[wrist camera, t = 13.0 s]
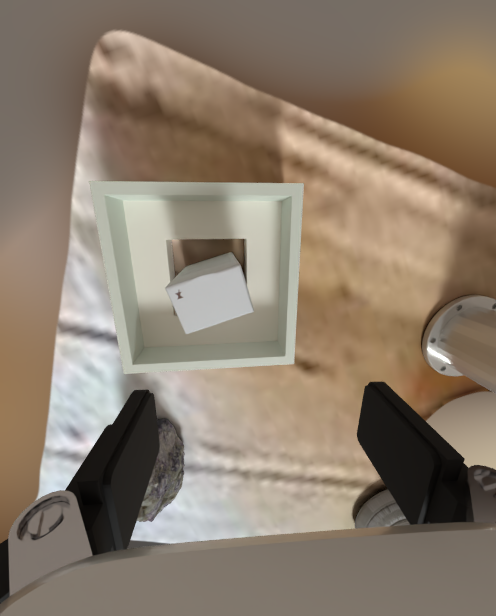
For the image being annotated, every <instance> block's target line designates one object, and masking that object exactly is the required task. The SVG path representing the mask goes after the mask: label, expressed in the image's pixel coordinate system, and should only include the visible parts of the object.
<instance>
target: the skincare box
mask: <svg viewBox="0 0 496 616" xmlns="http://www.w3.org/2000/svg"><path fill="white" fill-rule="evenodd" d="M165 289H166V292H167V294H168V296H169V298H170V300H171V303H172V305H173V307H174V309H175V311H176V314H177V316H178V318H179V320H180V323H181V325H182V327H183V329H184V332H185V334H189V333H192V332H195V331H198V330H201V329H204V328H207V327H210V326H213V325H216V324H219V323H222V322H225V321H227V320H230V319H233V318H236V317H239V316H242V315H245V314H248V313H252V312H254V308H253V305H252V301H251V298H250V294H249V291H248V287H247V284H246V280H245V277H244V274H243V271H242V268H241V265H240V263H239V262H238V261H237V259H236V258H235V256H234V254H233V253H232V252H229V253H226V254H223V255H220V256H216V257H213V258H210V259H207V260H204V261H201V262H198V263H195V264H192V265H188V266H186V267H185V268H184V269H183V270H182V271H181V272H180V273H179V274H178V275H177V276H176V277H175V278H174V279H173V280H172V281H171V282H170V283H169V284H168V285H167V286H166V287H165Z"/></svg>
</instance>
